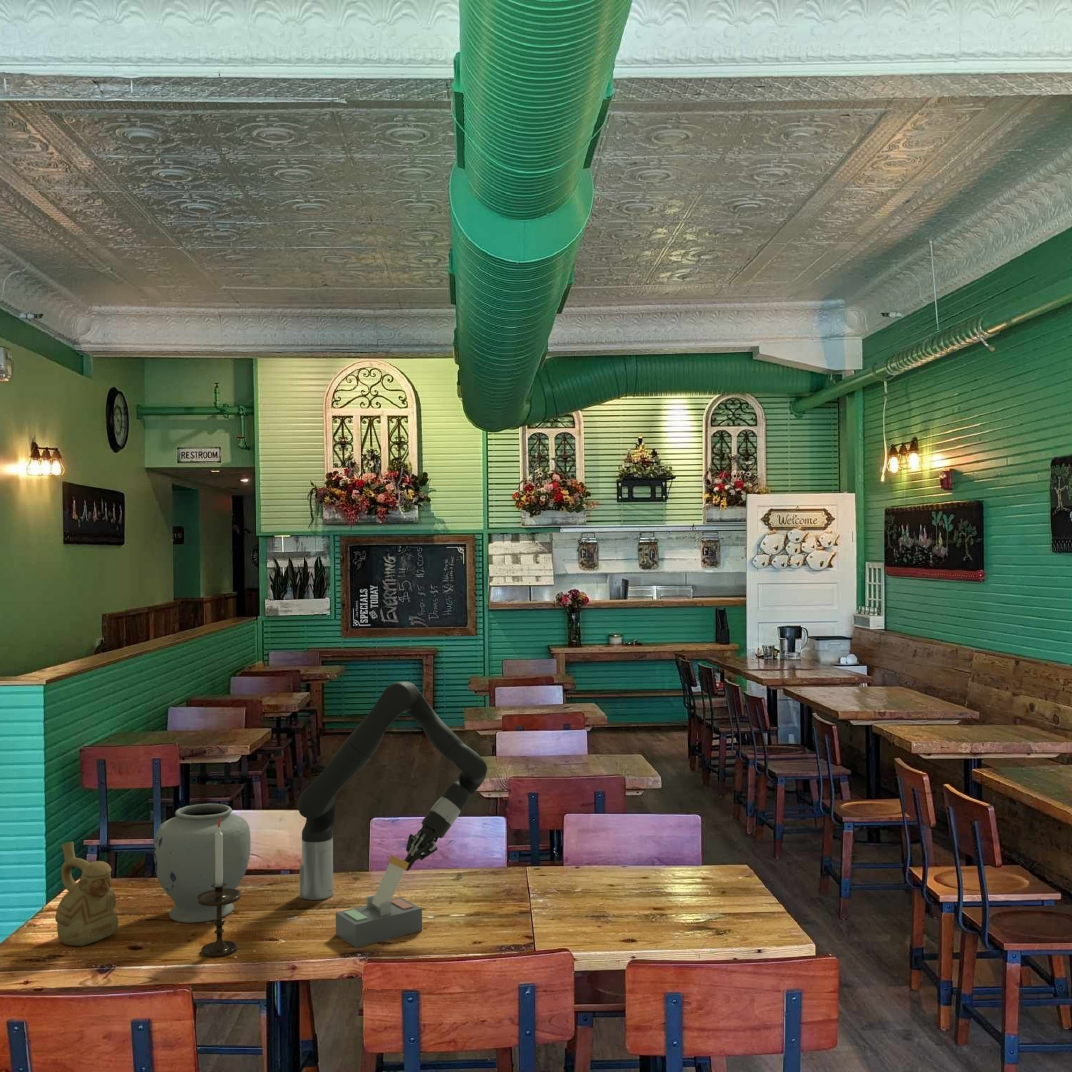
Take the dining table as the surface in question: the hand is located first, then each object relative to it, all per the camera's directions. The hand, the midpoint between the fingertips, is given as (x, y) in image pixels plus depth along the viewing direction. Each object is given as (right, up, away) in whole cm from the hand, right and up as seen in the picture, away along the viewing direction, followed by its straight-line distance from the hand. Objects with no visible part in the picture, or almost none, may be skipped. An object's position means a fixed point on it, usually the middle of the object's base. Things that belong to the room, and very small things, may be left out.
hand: (403, 868), depth 278 cm
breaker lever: (-6, -9, -5) cm, 12 cm away
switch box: (-6, -16, -5) cm, 18 cm away
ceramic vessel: (-86, -17, -6) cm, 88 cm away
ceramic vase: (-60, -17, +13) cm, 64 cm away
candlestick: (-46, -16, -17) cm, 52 cm away
